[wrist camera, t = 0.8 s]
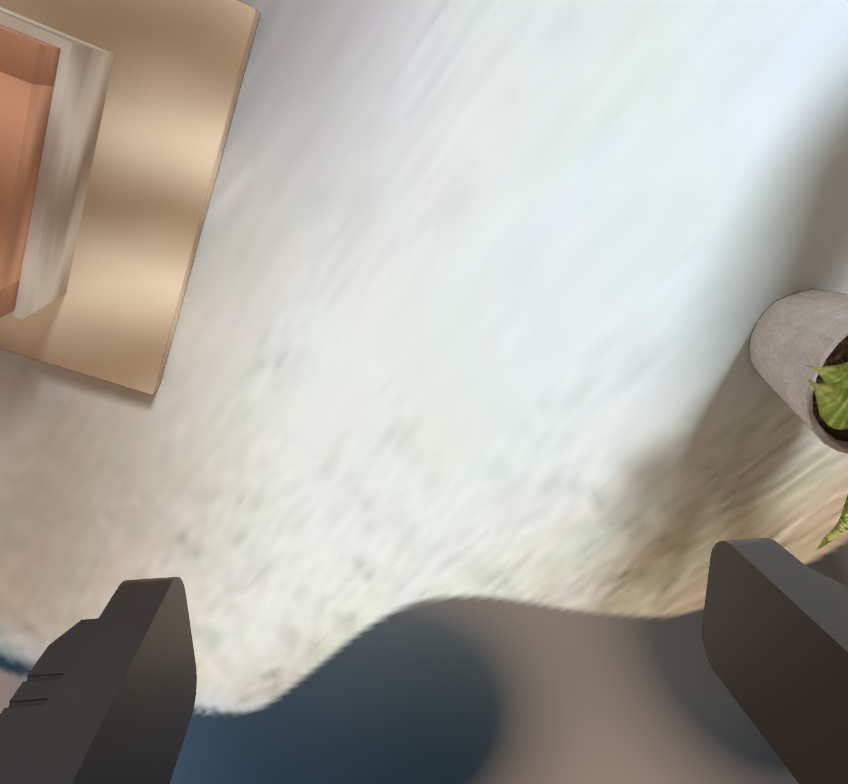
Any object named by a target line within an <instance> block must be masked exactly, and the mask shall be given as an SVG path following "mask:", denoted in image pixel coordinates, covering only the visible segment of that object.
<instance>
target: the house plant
mask: <svg viewBox="0 0 848 784" xmlns="http://www.w3.org/2000/svg"><path fill="white" fill-rule="evenodd" d="M749 352H750V360H751V362H752V364H753V367H754V369H755V370H756V371H757V372H758V373H759V374H760V376H761V377H762V378H763V379H764V380H765V381H766V382H767V383H768V384H769V385H770V386H771V387H772V388H773V390H774V391H775V392H776V393H777V394H778V395H779V396H780V397H781V398H782V399H783V400H784V401H785V402H786V403H787V405H788V406H789V407H790V408H791V409H792V410H793V411H794V412H795V413H796V414H797V415H798V416H799V417H800V418H801V420H802V421H803V422H804V423H805V424H806V425H807V426H808V427H809V428H810V429H811V430H812V431H813V432H814V433H815V435H816V436H817V437H818V438H819V439H820V440H821V441H822V442H823V443H824V444H826V445H827V446H829V447H831V448H833V449H835V450H837V451H839V452H844V453H848V294H842V293H835V292H827V291H820V290H809V291H802V292H798V293H795V294H792V295H789V296H786V297H784V298H782V299H780V300H778V301H776V302H775V303H774V304H772V305H771V306H770V307H769V308H768V309H767V310H766V311H765V312H764V313H763V315H762V316H761V317H760V319H759V320H758V321H757V323H756V325H755V328H754V330H753V332H752V334H751V339H750V345H749ZM846 530H848V496H847V499H846V502H845V505H844V508H843V511H842V514H841V517H840V519H839V521H838V523H837V525H836V526H835V527H834V528H833V529H832V530H831V531H830V532H829V533H828V534H827V535H826V536H825V537H824V539H823V541H822V542H821V544H820V545H819V547H818V548H817V549H819V548H821V547H823V546H824V545H826V544H827V543H829V542H831V541H832V540H834V539H836V538H837V537H839V536H840V535H841V534H842V533H843V532H845V531H846ZM817 549H816V550H817Z"/></svg>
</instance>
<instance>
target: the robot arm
mask: <svg viewBox="0 0 848 784" xmlns="http://www.w3.org/2000/svg"><path fill="white" fill-rule="evenodd" d="M702 638H703V645H704V649H705V652H706V655H707V658H708V661H709V663H710V665H711V667H712V669H713V670H714V672H715V673H716V675H717V676H718V677H719V679H720V680H721V681H722V683H723V684H724V685H725V687H726V688H727V689H728V691H729V692H730V693H731V694H732V696H733V697H734V698H735V700H736V701H737V702H738V704H739V705H740V706H741V708H742V709H743V710H744V712H745V713H746V714H747V716H748V717H749V718H750V720H751V721H752V722H753V724H754V725H755V726H756V728H757V729H758V730H759V732H760V733H761V734H762V735H763V737H764V738H765V739H766V741H767V742H768V743H769V745H770V746H771V747H772V749H773V750H774V751H775V753H776V754H777V755H778V757H779V758H780V759H781V761H782V762H783V763H784V765H785V766H786V767H787V768H788V770H789V771H790V773H791V774H792V775H793V776H794V777H795V779H796V780H797V782H798V783H799V784H848V587H847V586H845V585H843V584H841V583H839V582H837V581H835V580H833V579H831V578H829V577H827V576H825V575H823V574H821V573H819V572H817V571H814V570H812V569H811V568H808V567H806V566H805V565H804V564H803V563H802V562H800V561H799V560H798V559H797V558H795V557H794V556H793V555H792V554H790V553H789V552H788V551H787V550H786V549H784V548H783V547H782V546H781V545H779V544H778V543H777V542H775V541H774V540H772V539H769V538H760V539H745V540H731V541H720V542H718V543H717V544H716V545H715V546H714V548H713V550H712V553H711V558H710V566H709V574H708V582H707V590H706V599H705V607H704V616H703V625H702ZM196 683H197V675H196V663H195V656H194V649H193V642H192V635H191V628H190V621H189V614H188V607H187V600H186V593H185V588H184V584H183V582H182V580H181V579H180V578H179V577H169V578H154V579H139V580H126V581H123V582H122V583H121V584H120V586H119V587H118V589H117V590H116V592H115V593H114V595H113V596H112V598H111V600H110V601H109V603H108V604H107V606H106V608H105V609H104V611H103V612H102V614H101V616H100V617H99V619H86V620H81V621H79V622H78V623H77V624H76V625H74V626H73V627H72V628H71V629H69V630H68V631H67V632H65V633H64V634H63V635H62V636H60V637H59V638H58V639H56V640H55V641H54V642H53V643H51V644H50V645H49V646H48V647H47V649H46V650H45V651H44V653H43V654H42V656H41V657H40V659H39V660H38V661H37V663H36V664H35V666H34V667H33V668H32V670H31V671H30V673H29V674H28V679H27V681H26V682H23V683H22V684H21V686H20V687H19V688H18V690H17V691H16V693H15V694H14V696H13V697H12V699H11V700H10V704H9V708H5V709H4V710H3V711H2V713H1V714H0V784H169V783H170V781H171V777H172V774H173V771H174V768H175V765H176V762H177V759H178V756H179V753H180V750H181V747H182V744H183V741H184V738H185V735H186V732H187V729H188V725H189V722H190V720H191V716H192V713H193V709H194V703H195V696H196Z"/></svg>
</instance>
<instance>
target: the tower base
mask: <svg viewBox="0 0 848 784" xmlns="http://www.w3.org/2000/svg"><path fill="white" fill-rule="evenodd" d="M259 17H260V13H259V12H258V11H257V10H256V9H255V8H253V7H251V6H248V5H246V4H244V3H242V2H240V1H237V0H0V349H3V350H7V351H10V352H13V353H17V354H20V355H23V356H26V357H30V358H33V359H36V360H40V361H43V362H46V363H49V364H53V365H56V366H59V367H63V368H66V369H69V370H73V371H76V372H79V373H82V374H86V375H89V376H92V377H96V378H99V379H102V380H106V381H109V382H112V383H115V384H119V385H122V386H125V387H129V388H132V389H135V390H139V391H142V392H145V393H148V394H152V395H153V394H154V392H155V391H156V389H157V388H158V387H159V385H160V382H161V379H162V375H163V371H164V368H165V364H166V360H167V357H168V353H169V349H170V346H171V342H172V338H173V334H174V331H175V327H176V323H177V320H178V316H179V312H180V309H181V305H182V301H183V298H184V294H185V290H186V286H187V283H188V279H189V275H190V272H191V268H192V264H193V261H194V257H195V253H196V249H197V246H198V242H199V238H200V235H201V231H202V227H203V224H204V220H205V216H206V213H207V209H208V205H209V201H210V198H211V194H212V190H213V187H214V183H215V179H216V176H217V172H218V168H219V165H220V161H221V157H222V153H223V150H224V146H225V142H226V139H227V135H228V131H229V128H230V124H231V120H232V116H233V113H234V109H235V105H236V102H237V98H238V94H239V91H240V87H241V83H242V80H243V76H244V72H245V68H246V65H247V61H248V57H249V54H250V50H251V46H252V43H253V39H254V35H255V32H256V28H257V24H258V20H259Z"/></svg>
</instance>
